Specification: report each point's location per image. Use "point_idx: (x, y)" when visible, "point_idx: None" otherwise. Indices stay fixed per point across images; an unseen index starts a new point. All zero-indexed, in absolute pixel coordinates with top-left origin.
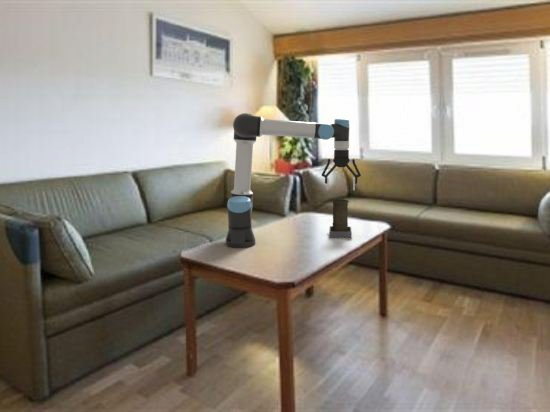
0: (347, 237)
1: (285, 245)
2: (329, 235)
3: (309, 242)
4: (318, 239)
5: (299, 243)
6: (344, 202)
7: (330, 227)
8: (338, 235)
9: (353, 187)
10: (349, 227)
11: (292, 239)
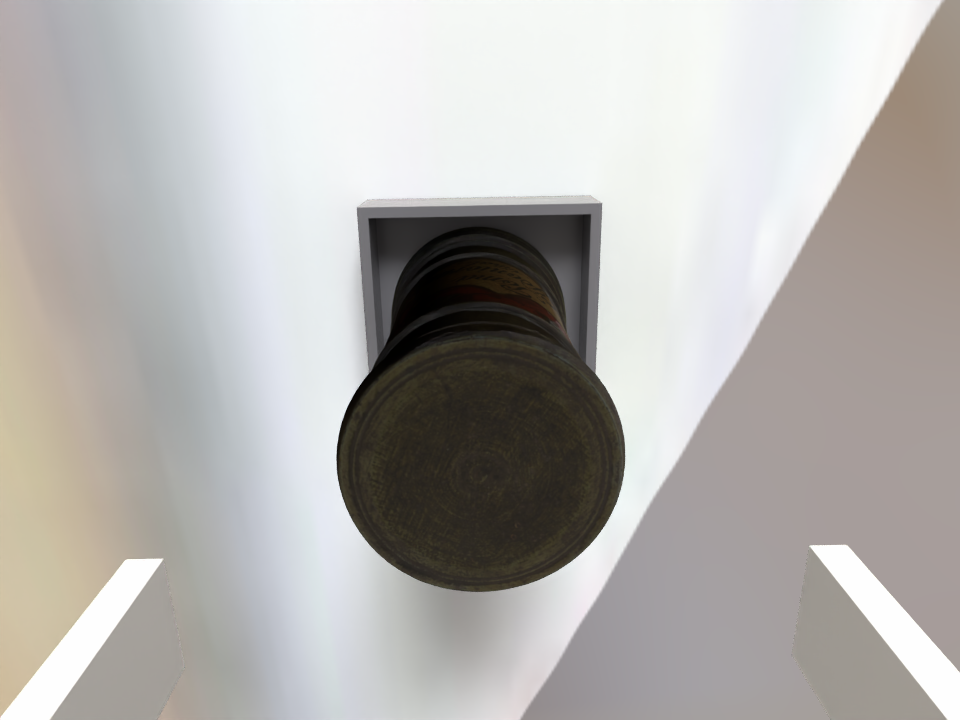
0: None
1: None
2: None
3: (233, 550)
4: (292, 460)
5: None
6: (550, 572)
7: (370, 265)
8: None
9: (830, 713)
10: (583, 213)
11: (67, 482)
